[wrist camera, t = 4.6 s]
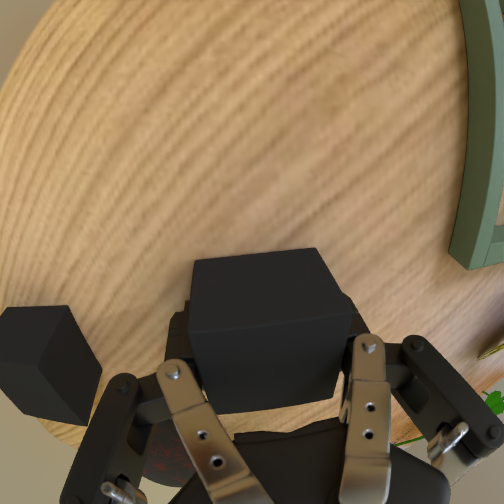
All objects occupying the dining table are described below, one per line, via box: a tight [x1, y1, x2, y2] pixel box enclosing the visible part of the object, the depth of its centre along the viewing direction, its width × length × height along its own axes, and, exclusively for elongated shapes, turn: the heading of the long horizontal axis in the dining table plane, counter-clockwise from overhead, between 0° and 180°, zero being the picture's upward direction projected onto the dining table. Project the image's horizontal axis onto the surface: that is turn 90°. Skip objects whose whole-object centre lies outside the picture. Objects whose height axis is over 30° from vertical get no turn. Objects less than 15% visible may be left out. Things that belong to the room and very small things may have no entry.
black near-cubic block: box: [187, 248, 353, 415], centre depth 12 cm, size 5×5×4 cm
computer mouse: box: [142, 420, 196, 487], centre depth 21 cm, size 8×14×4 cm, turn 31°
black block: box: [0, 305, 102, 427], centre depth 12 cm, size 5×5×4 cm
